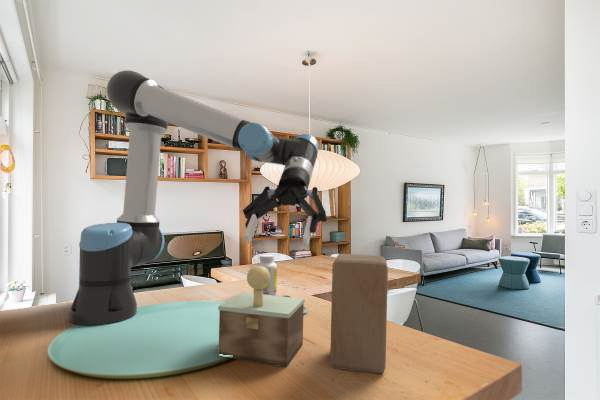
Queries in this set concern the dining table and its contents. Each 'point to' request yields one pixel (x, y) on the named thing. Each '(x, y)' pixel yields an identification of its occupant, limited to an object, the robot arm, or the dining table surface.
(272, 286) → the supplement bottle
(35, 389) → the dining table surface
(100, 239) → the robot arm
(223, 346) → the box
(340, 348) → the block
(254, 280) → the lid
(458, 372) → the dining table surface
